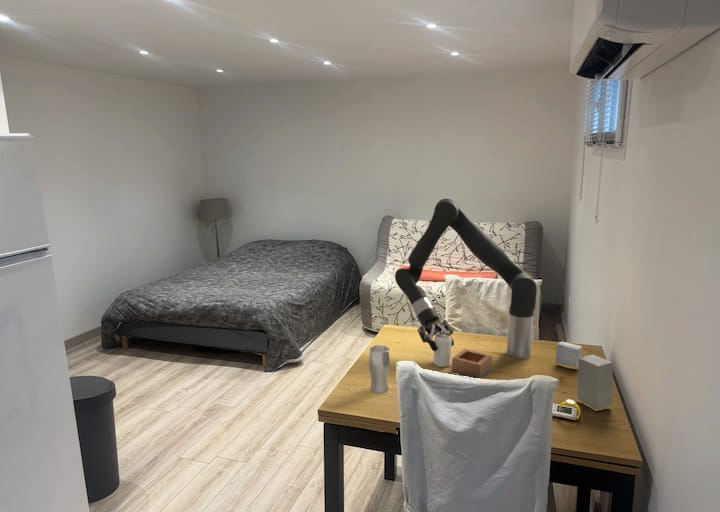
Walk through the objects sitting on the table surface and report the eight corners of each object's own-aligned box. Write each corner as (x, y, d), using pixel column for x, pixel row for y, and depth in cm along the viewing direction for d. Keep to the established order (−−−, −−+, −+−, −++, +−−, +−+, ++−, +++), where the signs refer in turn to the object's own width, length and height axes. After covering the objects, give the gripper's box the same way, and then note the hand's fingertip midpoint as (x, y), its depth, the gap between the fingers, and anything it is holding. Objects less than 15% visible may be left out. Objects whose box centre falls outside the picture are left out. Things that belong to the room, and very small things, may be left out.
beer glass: (382, 396, 168) (383, 354, 165) (365, 391, 171) (365, 349, 168) (392, 388, 173) (393, 347, 170) (375, 383, 177) (375, 343, 174)
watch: (579, 420, 153) (582, 402, 152) (578, 424, 151) (581, 406, 150) (558, 414, 156) (561, 396, 155) (557, 418, 154) (560, 400, 152)
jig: (463, 363, 194) (464, 348, 193) (490, 370, 188) (491, 355, 186) (451, 373, 185) (452, 358, 184) (479, 380, 179) (480, 365, 178)
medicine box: (580, 367, 190) (582, 346, 188) (576, 371, 187) (578, 349, 185) (559, 361, 195) (561, 340, 194) (555, 365, 192) (557, 344, 191)
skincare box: (611, 409, 159) (616, 362, 156) (593, 413, 157) (598, 366, 153) (590, 397, 167) (595, 352, 164) (573, 401, 164) (578, 355, 161)
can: (450, 368, 190) (451, 338, 187) (433, 366, 191) (434, 337, 188) (450, 361, 196) (452, 332, 193) (434, 360, 197) (435, 331, 195)
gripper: (415, 310, 192) (435, 347, 185) (443, 303, 199) (463, 339, 192) (406, 319, 197) (425, 356, 190) (433, 313, 205) (452, 348, 198)
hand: (444, 348), depth 191 cm, fingers open, 8 cm apart
